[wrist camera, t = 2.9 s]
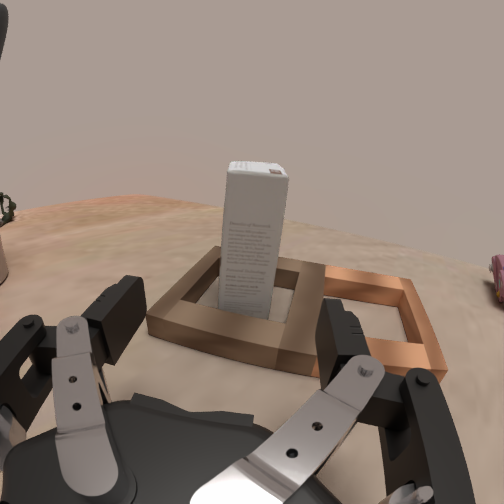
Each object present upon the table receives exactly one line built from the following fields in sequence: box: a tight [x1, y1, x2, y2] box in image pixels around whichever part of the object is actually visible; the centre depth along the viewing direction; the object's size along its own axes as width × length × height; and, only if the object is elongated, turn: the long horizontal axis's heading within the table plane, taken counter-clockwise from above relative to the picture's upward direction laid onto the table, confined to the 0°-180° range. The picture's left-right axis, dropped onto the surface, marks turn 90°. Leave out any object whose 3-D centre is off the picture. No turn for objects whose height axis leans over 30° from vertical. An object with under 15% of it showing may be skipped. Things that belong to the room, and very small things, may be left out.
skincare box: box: [218, 161, 289, 320], centre depth 23 cm, size 6×4×12 cm
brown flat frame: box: [146, 246, 448, 384], centre depth 24 cm, size 22×14×2 cm, turn 75°
